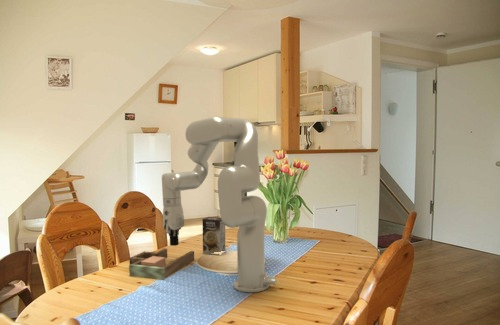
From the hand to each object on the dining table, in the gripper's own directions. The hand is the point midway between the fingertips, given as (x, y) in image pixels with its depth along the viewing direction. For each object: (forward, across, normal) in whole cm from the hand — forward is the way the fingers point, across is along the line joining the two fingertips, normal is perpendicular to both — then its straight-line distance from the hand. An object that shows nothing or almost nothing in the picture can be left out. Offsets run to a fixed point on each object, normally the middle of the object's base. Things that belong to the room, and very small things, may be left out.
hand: (174, 244), depth 157 cm
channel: (+7, -7, +4) cm, 11 cm away
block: (+8, -12, +2) cm, 15 cm away
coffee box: (+8, +18, -10) cm, 22 cm away
